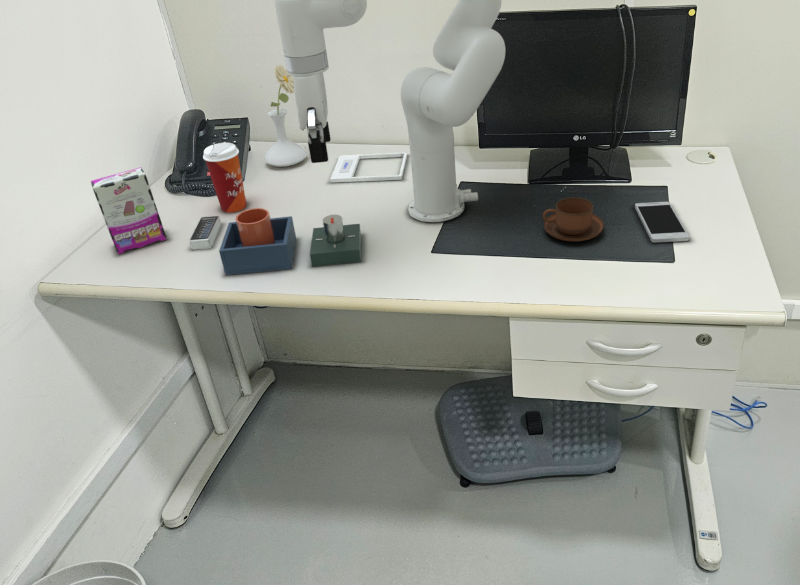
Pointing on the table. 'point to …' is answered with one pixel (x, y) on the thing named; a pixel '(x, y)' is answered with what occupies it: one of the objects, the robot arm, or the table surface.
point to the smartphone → (661, 222)
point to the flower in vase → (283, 127)
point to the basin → (259, 250)
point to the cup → (255, 227)
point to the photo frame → (349, 164)
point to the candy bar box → (129, 210)
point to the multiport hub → (205, 232)
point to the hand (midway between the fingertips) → (321, 151)
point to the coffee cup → (226, 175)
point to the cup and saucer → (573, 220)
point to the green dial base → (336, 247)
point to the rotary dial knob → (333, 228)
